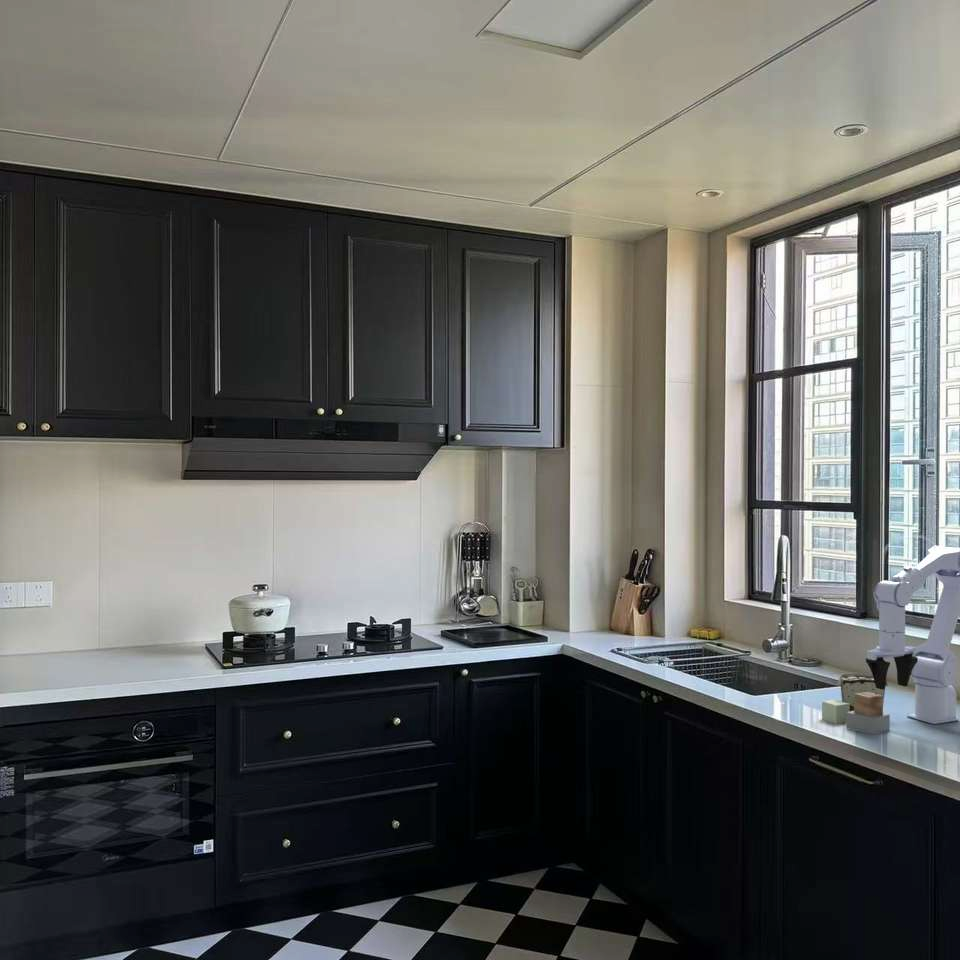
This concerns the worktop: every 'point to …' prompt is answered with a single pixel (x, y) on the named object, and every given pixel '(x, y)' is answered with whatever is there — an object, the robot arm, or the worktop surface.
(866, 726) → the slate block
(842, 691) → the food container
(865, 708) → the walnut cube
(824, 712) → the sage cube
